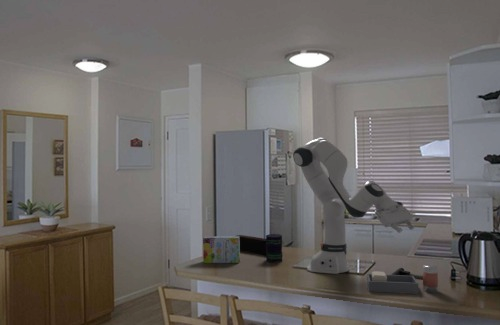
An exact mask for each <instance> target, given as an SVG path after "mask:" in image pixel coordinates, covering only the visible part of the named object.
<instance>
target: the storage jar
mask: <svg viewBox="0 0 500 325" xmlns="http://www.w3.org/2000/svg"><path fill="white" fill-rule="evenodd" d="M265 239H266V254H265V256H266V257H265V258H266V260H265V261H266V262H269V263H280V262H282V261H283V235H282V234H279V233H278V234H277V233H274V234H273V233H272V234H266V235H265Z"/></svg>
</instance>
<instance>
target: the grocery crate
mask: <svg viewBox="0 0 500 325" xmlns="http://www.w3.org/2000/svg"><path fill="white" fill-rule="evenodd" d="M386 277H387V282H383V281H372V273H367V274H366V286H367V289H368V292H373V293H374V292H375V293H376V292H377V293H378V292H379V293H396V294H397V293H398V294H413V295H414V294H416V295H418V294H419V282H418V280H416V279H417V278H414V276H405V275H391V274H386Z"/></svg>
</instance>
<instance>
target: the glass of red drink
mask: <svg viewBox="0 0 500 325" xmlns="http://www.w3.org/2000/svg"><path fill="white" fill-rule="evenodd" d="M438 273H439V272H438V266H437V265H435V264H423V265H422V276H423V279H422V287H423V288H422V290H423V292H426V293H429V294H432V293H433V294H435V293H438V292H439V291H438V286H439V285H438V284H439V278H438V276H439V275H438Z"/></svg>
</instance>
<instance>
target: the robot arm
mask: <svg viewBox="0 0 500 325" xmlns="http://www.w3.org/2000/svg"><path fill="white" fill-rule="evenodd" d="M292 158H293V161H294V163H295V164H296V165H297V166H299V167H300V168H301V172H302V174H303V176H304V178H305V180H306V182H307V184H308V185H309V188H311V191H312V192H313V193H314V195H315V196H316V198H317V199H318V200H319V202H320V203H321V204H322V215H323V226H324V242H321V243H320V250H319V251H318V252H317V253H315V254H314V255H313V256H312V257H311V261H310V263H309V264H308V265H307V266H306V271H308V272H312V273H322V274H333V275H334V274H335V275H339V274H340V273H346V272H349V270H350V269H349V264H348V258H347V254H348V249H347V248H348V247H347V242H346V239H347V238H346V222H345V221H346V220H345V212H346V211H347V212H348V214H349V215H350V216H351V217H353V218H354V219H355V218H358V219H359V218H363V217H364V216H366V214H367V213H368V211H369V210H370V209H371V208H372V207H373V206H374V207H375V209H376V211H375V214H376V215H377V218H378V220H379V222H380V223H381V225H382V226H383V227H384V228H390V227H391V229H393V230H395V231H396V232H397V233H399V234H400V233H402V231H403V229H402V228H401V227H399V225H404V224H406V225H407V226H408V229H409V230H410V231H412V230H414V229H415V226H414V225H413V223H412V221H413V220H414V216H413V214H412V213H411V212H410V210H409V209H408V208H407V207H405V206H404V203H403V202H401V201H398V200H394V199H393V198H391V197H390V196H389V195H388V194H387V193H386V191H385V190H384V189H383V188H382V187H381V186H380V185H379V184H378V183H377V182H375V181H373V180H368V181H366V182H365V183H364V184H363V185H362V186H361V187H360V189H359V190H357V191H356V193H355V194H354V195H353V196H351V195H350V193H349V192H348V190H347V189H346V187H345V185H344V177H345V174H346V172H347V169H348V158H347V157H346V155H345V154H344V153H343V152H342V151H341V150H340V149H339V148H338V147H337V146H335V145H334V144H333V143H332V142H330V141H329V140H327V139H326V138H324V137H318V138H316V139H313V140H311V141H307V142H306V143H305V144H303V145H301V146H299V147H298V148H296V149H295V150H294V151H293V153H292ZM322 165H323V166H324V168H325V169H326V170H327V173H328V174H327V173H326V171H325V170H324V168H323V166H322Z"/></svg>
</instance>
